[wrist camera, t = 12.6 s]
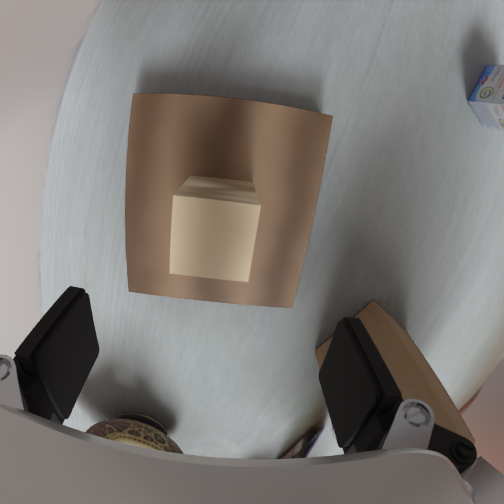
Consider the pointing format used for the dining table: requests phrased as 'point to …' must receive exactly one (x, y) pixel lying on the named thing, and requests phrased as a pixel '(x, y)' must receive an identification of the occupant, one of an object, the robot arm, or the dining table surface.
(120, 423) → the ceramic bowl
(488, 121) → the medicine box
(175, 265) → the maple block
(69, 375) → the robot arm
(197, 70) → the dining table surface
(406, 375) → the wooden block
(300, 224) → the walnut base
